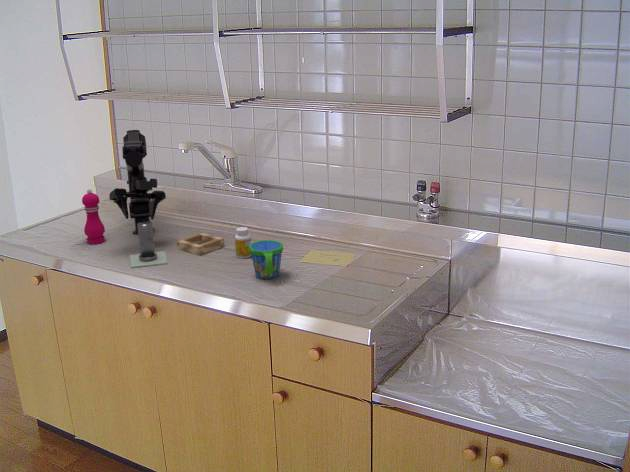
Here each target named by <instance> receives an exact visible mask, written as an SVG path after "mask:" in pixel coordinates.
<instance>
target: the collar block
mask: <svg viewBox="0 0 630 472" xmlns="http://www.w3.org/2000/svg"><path fill="white" fill-rule="evenodd" d="M223 247H225V238H224V237H219V236H216V235H213V234H210V233H209V234H208V233H205V232H199V233H196V234H192V235H190V236H187V237H184V238H182V239H179V240H176V250H179V251H182V252H186V253H189V254H194V255H196V256H199V257H200V256H203V255H205V254H208V253H211V252H213V251H216V250H218V249H221V248H223Z"/></svg>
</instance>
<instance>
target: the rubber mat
mask: <svg viewBox="0 0 630 472" xmlns="http://www.w3.org/2000/svg"><path fill="white" fill-rule="evenodd" d="M155 253H156V254H157V259H156V260H154V261H150V262H142V261H140V260H139V255H141V254H140V253H136V254H129V261H130V262H129V263H130V264H129V265H130V269H136V268H146V267H155V266H160V265H161V266H162V265H168V264H169V263H168V258H167V254H166V251H165V250H163V251H155Z"/></svg>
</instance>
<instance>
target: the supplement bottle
mask: <svg viewBox="0 0 630 472" xmlns="http://www.w3.org/2000/svg"><path fill="white" fill-rule="evenodd" d="M234 243H235V244H234V246H235V257H236V258H239V259H247V258H250V257H252V255H251V253H250V251H249V246H250V245H251V244H252V238H251V234H250V233H249V228H248V227H246V226H241V227H237V228H236V234H235V236H234Z"/></svg>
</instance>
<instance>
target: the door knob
mask: <svg viewBox="0 0 630 472" xmlns="http://www.w3.org/2000/svg"><path fill="white" fill-rule="evenodd" d="M137 228H138V234H137V235H138V236H137V237H138V243H139V244H138V245H139V254H141V255H139V260H140V261H142V262H150V261H154V260H156V259H157V254H156V253H155V252H156V249H155V242H154V241H155V240H154V231H153V230H154V229H152V228H153V222H151V221H150V222H140V223H138V224H137Z"/></svg>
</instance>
